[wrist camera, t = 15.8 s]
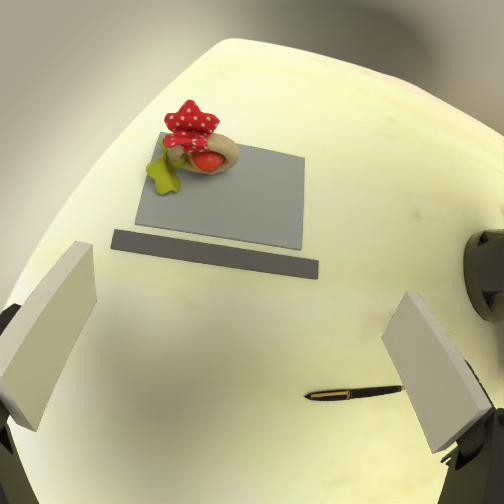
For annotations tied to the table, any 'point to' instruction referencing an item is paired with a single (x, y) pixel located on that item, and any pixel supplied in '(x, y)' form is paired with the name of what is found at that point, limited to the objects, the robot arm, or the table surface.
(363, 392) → the fountain pen
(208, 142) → the bird rattle
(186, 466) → the table surface
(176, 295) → the table surface
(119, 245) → the mat
